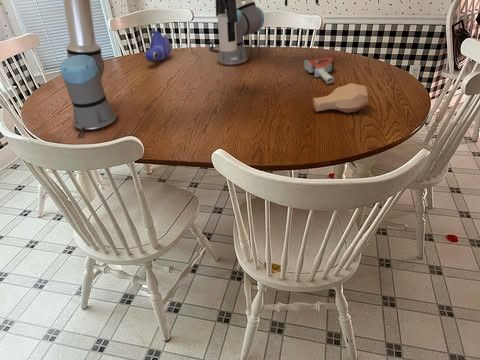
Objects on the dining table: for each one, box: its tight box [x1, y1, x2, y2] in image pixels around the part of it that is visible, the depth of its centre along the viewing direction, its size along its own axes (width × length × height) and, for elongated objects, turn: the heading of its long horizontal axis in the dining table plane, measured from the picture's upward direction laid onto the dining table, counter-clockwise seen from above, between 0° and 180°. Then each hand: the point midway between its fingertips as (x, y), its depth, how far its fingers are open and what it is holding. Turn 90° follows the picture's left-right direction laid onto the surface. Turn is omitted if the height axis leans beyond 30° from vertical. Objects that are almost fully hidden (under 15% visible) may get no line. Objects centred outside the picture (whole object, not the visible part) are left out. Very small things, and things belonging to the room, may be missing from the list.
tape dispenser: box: [304, 56, 335, 85], centre depth 159 cm, size 18×5×20 cm
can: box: [216, 13, 237, 52], centre depth 139 cm, size 7×7×13 cm
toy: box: [144, 30, 172, 67], centre depth 185 cm, size 10×17×25 cm
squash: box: [312, 82, 369, 113], centre depth 129 cm, size 11×20×9 cm, turn 92°
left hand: (227, 38), depth 141 cm, fingers closed on can, 7 cm apart
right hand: (301, 4), depth 157 cm, fingers open, 13 cm apart
